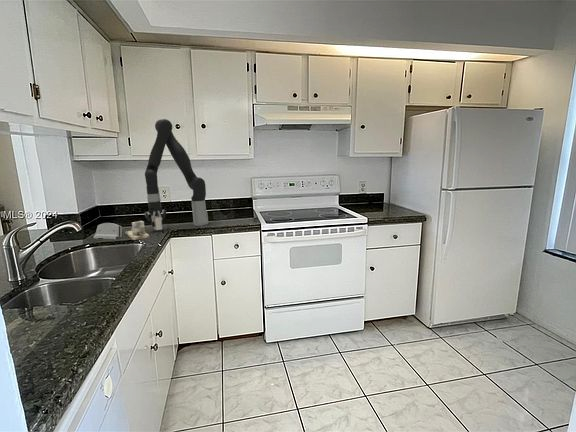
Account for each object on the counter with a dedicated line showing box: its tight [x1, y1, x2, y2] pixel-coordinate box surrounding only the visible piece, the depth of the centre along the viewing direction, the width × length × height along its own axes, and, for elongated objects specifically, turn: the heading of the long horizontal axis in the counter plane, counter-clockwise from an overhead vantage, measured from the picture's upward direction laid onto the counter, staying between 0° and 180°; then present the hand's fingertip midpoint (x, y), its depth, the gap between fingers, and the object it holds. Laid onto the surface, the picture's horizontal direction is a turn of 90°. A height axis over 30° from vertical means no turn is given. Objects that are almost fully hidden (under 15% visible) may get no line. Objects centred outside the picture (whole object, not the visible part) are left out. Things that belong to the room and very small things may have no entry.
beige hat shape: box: [124, 220, 150, 241], centre depth 197 cm, size 9×20×10 cm, turn 39°
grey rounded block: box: [93, 222, 123, 240], centre depth 195 cm, size 17×5×10 cm, turn 76°
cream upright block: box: [153, 216, 163, 231], centre depth 207 cm, size 6×4×8 cm, turn 39°
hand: (157, 226), depth 207 cm, fingers closed on cream upright block, 4 cm apart
